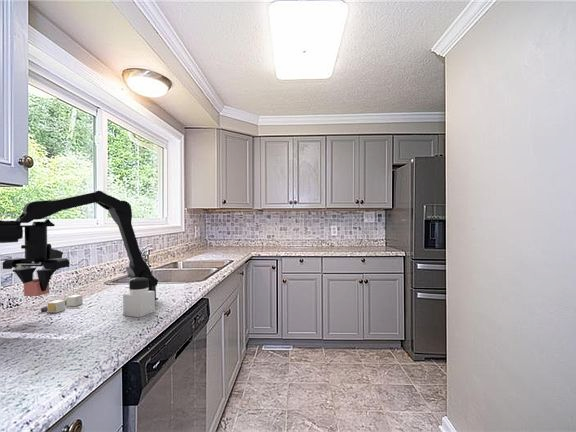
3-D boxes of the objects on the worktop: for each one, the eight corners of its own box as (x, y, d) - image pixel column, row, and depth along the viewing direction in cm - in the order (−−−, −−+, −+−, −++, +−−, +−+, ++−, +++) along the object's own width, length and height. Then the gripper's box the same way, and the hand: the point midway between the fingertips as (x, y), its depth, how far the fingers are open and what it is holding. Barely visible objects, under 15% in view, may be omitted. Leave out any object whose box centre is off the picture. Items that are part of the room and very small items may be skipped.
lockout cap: (49, 293, 109) (48, 277, 109) (37, 296, 105) (36, 280, 105) (36, 292, 110) (36, 277, 110) (24, 296, 105) (23, 280, 105)
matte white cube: (65, 309, 117) (65, 300, 117) (56, 312, 113) (56, 303, 113) (56, 309, 117) (55, 300, 117) (46, 312, 113) (46, 303, 113)
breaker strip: (95, 306, 126) (95, 298, 126) (63, 318, 111) (63, 310, 111) (71, 306, 127) (71, 298, 127) (36, 318, 112) (36, 309, 112)
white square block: (82, 303, 125) (82, 295, 125) (75, 306, 121) (75, 297, 121) (73, 303, 125) (73, 294, 125) (66, 306, 122) (66, 297, 122)
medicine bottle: (155, 311, 117) (154, 276, 117) (140, 317, 111) (139, 280, 111) (138, 310, 120) (138, 275, 120) (122, 315, 113) (122, 279, 113)
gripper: (81, 239, 114) (82, 286, 114) (32, 239, 116) (33, 285, 116) (54, 241, 103) (55, 293, 103) (0, 242, 105) (1, 292, 105)
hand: (36, 291), depth 107 cm, fingers closed on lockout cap, 4 cm apart
